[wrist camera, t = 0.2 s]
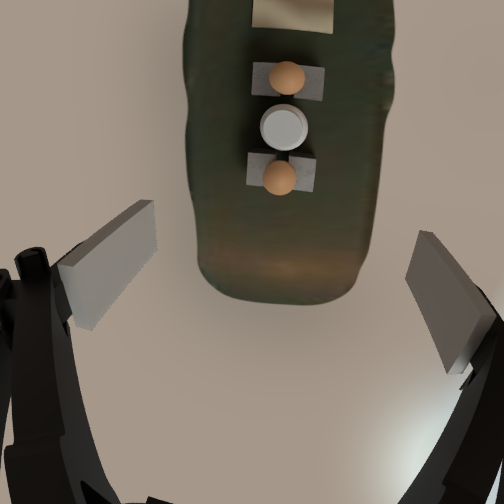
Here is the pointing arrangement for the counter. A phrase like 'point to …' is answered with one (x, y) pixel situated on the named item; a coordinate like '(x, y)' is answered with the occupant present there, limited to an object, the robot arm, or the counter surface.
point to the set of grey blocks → (264, 157)
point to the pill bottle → (283, 127)
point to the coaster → (294, 15)
